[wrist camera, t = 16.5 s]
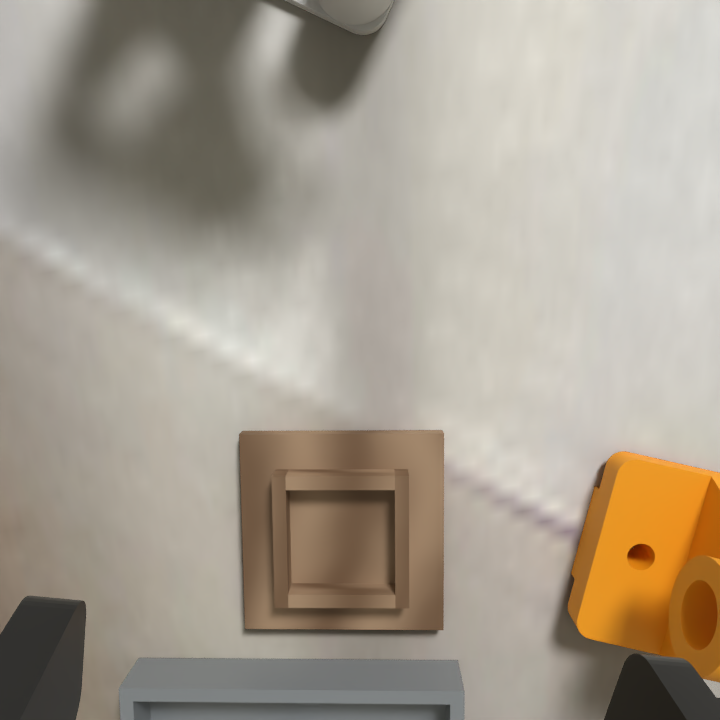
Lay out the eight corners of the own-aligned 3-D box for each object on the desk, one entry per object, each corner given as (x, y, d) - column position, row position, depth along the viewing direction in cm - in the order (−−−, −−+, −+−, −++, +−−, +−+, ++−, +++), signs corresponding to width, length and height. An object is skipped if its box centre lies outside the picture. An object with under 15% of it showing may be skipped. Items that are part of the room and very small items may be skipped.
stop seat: (248, 620, 41) (239, 641, 38) (242, 431, 40) (233, 440, 37) (441, 621, 41) (445, 643, 38) (442, 430, 39) (446, 439, 37)
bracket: (605, 444, 39) (703, 511, 27) (724, 471, 39) (875, 550, 27) (560, 612, 40) (635, 747, 28) (675, 638, 40) (799, 784, 28)
